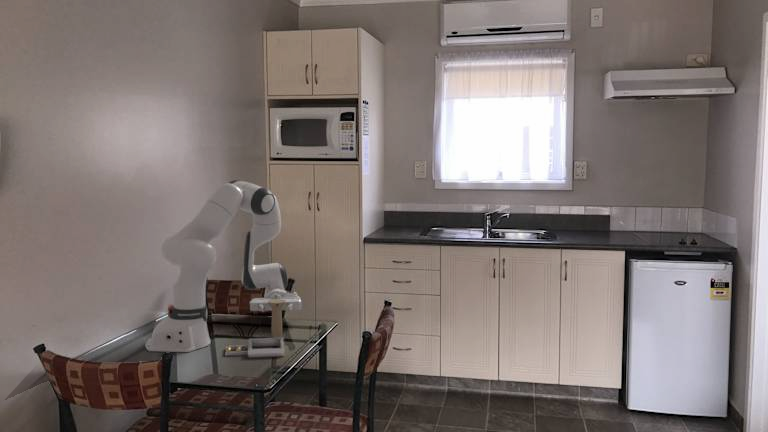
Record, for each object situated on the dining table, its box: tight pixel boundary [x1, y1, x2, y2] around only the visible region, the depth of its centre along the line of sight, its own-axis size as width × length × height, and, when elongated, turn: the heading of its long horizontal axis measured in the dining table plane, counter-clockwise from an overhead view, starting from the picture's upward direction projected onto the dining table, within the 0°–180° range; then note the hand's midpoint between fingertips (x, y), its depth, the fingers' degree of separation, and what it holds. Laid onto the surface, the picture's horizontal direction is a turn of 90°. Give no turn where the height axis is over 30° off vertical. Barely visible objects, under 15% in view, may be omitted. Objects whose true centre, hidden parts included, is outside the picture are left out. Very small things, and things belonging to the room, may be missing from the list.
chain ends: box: [224, 337, 285, 359], centre depth 232 cm, size 20×12×3 cm, turn 101°
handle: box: [268, 299, 286, 338], centre depth 244 cm, size 5×6×15 cm
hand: (276, 309), depth 255 cm, fingers open, 8 cm apart
